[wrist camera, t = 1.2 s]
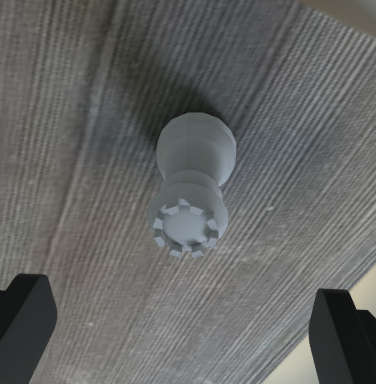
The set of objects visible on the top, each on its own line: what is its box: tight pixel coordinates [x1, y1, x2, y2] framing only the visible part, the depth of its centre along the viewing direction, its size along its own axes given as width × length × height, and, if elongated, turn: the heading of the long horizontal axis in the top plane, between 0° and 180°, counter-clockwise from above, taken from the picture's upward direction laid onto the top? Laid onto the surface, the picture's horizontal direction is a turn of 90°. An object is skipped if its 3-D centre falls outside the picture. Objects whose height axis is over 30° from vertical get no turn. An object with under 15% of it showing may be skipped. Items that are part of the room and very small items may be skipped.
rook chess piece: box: [147, 113, 236, 258], centre depth 17 cm, size 4×4×8 cm
